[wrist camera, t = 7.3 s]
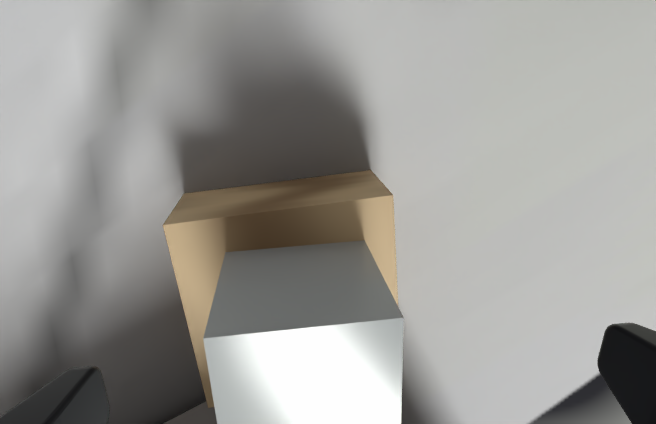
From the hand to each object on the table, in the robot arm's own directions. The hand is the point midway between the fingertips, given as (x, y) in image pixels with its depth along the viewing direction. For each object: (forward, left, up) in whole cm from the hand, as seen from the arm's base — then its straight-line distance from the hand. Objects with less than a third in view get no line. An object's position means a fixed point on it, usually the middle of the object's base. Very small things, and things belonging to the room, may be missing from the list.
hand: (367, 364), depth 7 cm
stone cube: (+1, +4, -8) cm, 9 cm away
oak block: (+1, +4, -12) cm, 13 cm away
